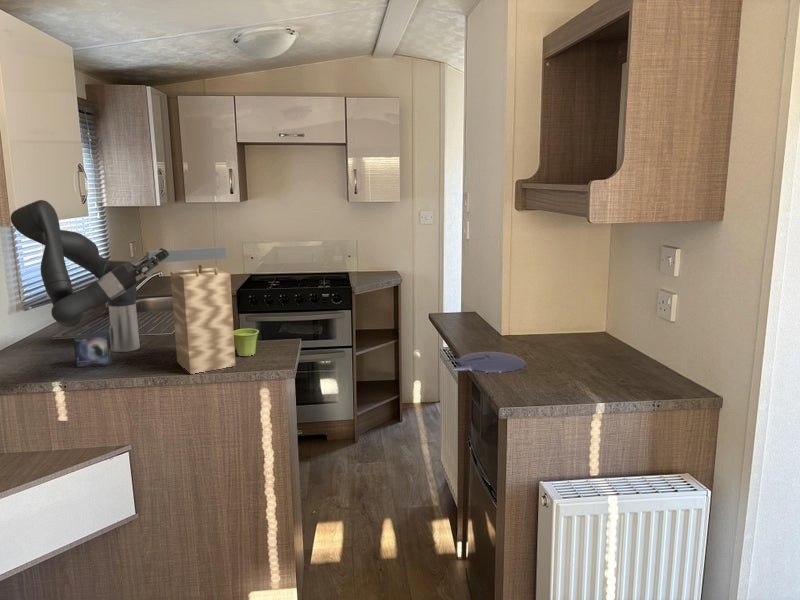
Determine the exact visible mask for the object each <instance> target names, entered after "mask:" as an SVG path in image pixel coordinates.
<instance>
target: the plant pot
mask: <svg viewBox="0 0 800 600" xmlns="http://www.w3.org/2000/svg"><path fill="white" fill-rule="evenodd" d="M258 334H259V330H258V329H255V328H239V329H236V330H234V344H235V348H236V353H237V356H238V355H239V356H238V357H240V356H247V357H252V356H251V355H253V356H255V355H256V350H257V349H256V347H257V338H258ZM254 354H255V355H254Z"/></svg>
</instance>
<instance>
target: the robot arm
mask: <svg viewBox="0 0 800 600" xmlns="http://www.w3.org/2000/svg"><path fill="white" fill-rule="evenodd" d="M10 222H11V224H12V226H13V227H14V229H15V230H17V232H18V233H19V234H21V235H23V236H24V237H25V238H28V239H30V240H32V241H34V242H36V243H39V244H41V245H43V246H44V249H43V253H42V257H41V263H40V277H41V279H42V283H43V285H44V288H45V291H46V294H47V295H48V297H49V298H50V300H51V303H52V308H51V312H50V313H51V317H52V318H53V320H55V322H57V324H59V325H60V326H63V327H65V328H74V327H76V326H78V325H79V324H80V323H81V321H82V320H83V314H84V313H86V312H88V311H90V310H95V309H99V308H100V307H103V306H104V305H106V304H107V303H108V311H109V312H108V313H109V321H110V322H109V324H110V325H109V332H110V343H111V353H112V352H116V353H125V352H133V351H137V350H138V349H140V347H141V346H140V337H139V325H138V315H137V304H136V303H137V300H136V299H137V293H138V291H137V285H138V280H137V277H138V276H143V275H147V273H149V272H150V271H151V270H154V268H156V267H157V266H159V261H161V260H162V259H164V258H165V257H167V256H169V253H168V252H167V250H168V249H165V248H163V247H162V248H161V247H160V248H159V249H158V250H162V251H161V252H159V253H158V254H156V255H154V256H152V257H151V258H149V259H147V256H146V255H144V256H142V257H141V258H139V259H137V260H135V261H133V262H131V261H124V260H109V259H107V258H105V257H103V256H101V255H100V251H99V248H98V246H97V245H96V243H95V242H93V241H92V240H91V239H89V238H88V237H87V236H85V235H83V234H82V233H80V232H75V231H73V230H65V229H61V227H60V221H59V216H58V214H57V212H56V210H55V208H54V206H53V205H52V204H51V203H50V202H49V201H47V200H45V199H39V200H36V201H33V202H31V203H28V204H27V205H24V206H20V207H19V208H17V209H15V210H14V211H12V213H11V214H10ZM65 259H67V260H69V261H70V262H73V263H74V264H76V265H78V267H81V268H82V269H84V270H86V271H88V272H90V273H91V274H92V275H93V276H95V277H96V278H97V280H96V281H94V282H93V283H91V284H89V285H87V286H86V287H84V288H83V289H81V290H78V291H76V292H75V291H74V289H73V285H72V281H71V278H70V275H69V274H70V273H69V272H68V269H67V264H66V260H65ZM151 261H152V262H153V263H150V262H151Z"/></svg>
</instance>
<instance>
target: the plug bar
mask: <svg viewBox="0 0 800 600" xmlns="http://www.w3.org/2000/svg"><path fill="white" fill-rule="evenodd" d="M166 250H167V252H168V253H169V256H167V257H165V258H164V259H162V260H161V261H159V263H175V262H188V261H203V260H204V261H205V260H221V259H226V257H227V256H226V254H227V253H226V247H224V246H215V247H212V246H211V247H194V248H192V247H191V248H178V249H177V248H176V249H166ZM161 251H162V250H159V249H157V250H145V252H146V253H145V256H147V259H149V258H151V257H152V256H154V255H156V254H158V253H159V252H161ZM150 263H152V264H153V262H152V261H151V262H150Z"/></svg>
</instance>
